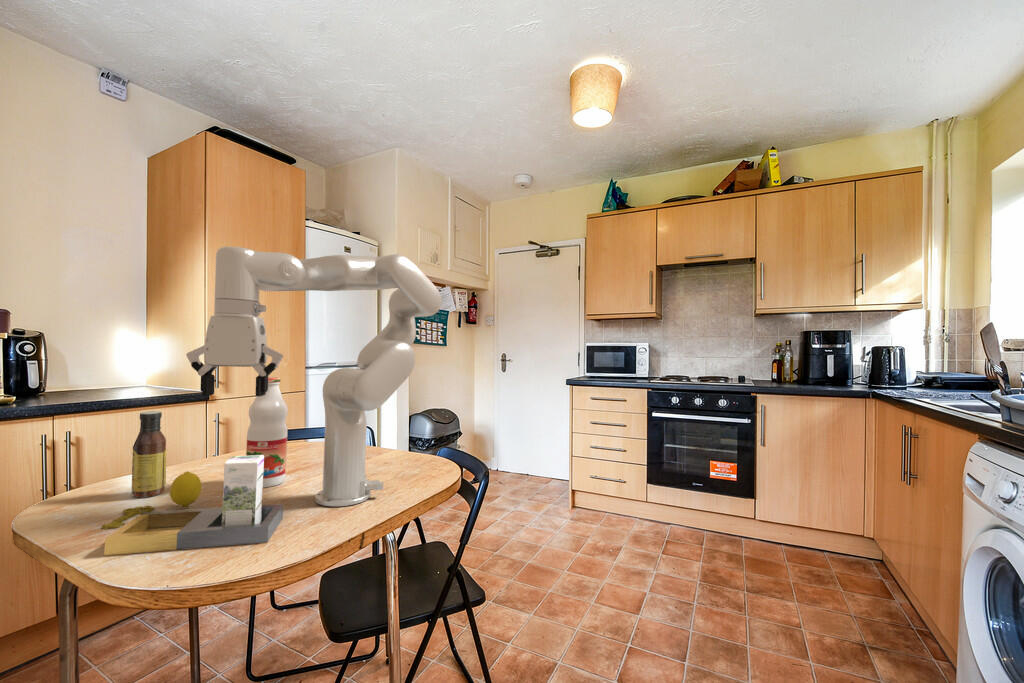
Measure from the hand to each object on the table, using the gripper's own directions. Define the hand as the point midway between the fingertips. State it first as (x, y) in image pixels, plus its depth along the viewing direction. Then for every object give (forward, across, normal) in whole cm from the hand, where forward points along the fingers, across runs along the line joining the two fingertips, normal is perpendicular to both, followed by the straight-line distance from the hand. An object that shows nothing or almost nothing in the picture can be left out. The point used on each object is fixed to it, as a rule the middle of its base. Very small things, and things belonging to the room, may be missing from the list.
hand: (234, 395), depth 86 cm
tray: (+26, +4, +2) cm, 27 cm away
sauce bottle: (+27, +28, -22) cm, 45 cm away
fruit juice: (+27, +5, -30) cm, 41 cm away
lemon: (+27, +15, -13) cm, 33 cm away
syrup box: (+27, -3, +2) cm, 27 cm away
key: (+27, +24, -8) cm, 37 cm away
